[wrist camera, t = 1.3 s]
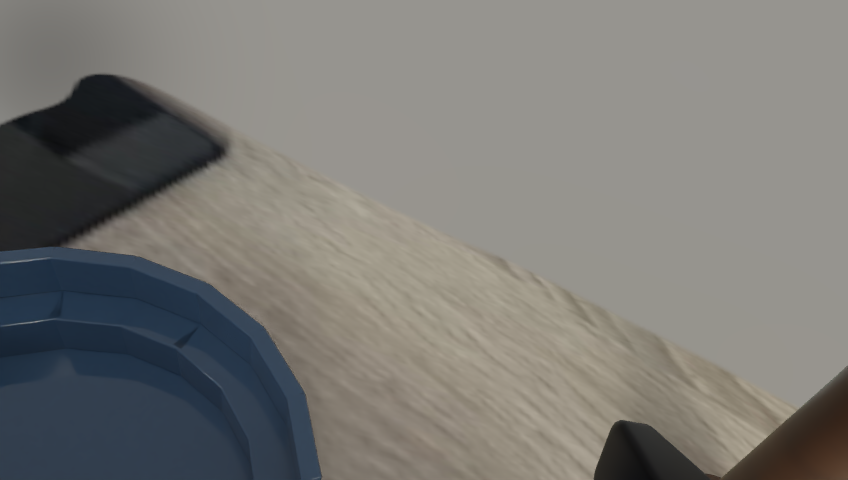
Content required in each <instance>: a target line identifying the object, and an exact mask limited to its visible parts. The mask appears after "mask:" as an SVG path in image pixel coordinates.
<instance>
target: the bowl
mask: <svg viewBox="0 0 848 480" xmlns="http://www.w3.org/2000/svg"><path fill="white" fill-rule="evenodd" d="M0 480H322V475H321V470H320V465H319V460H318V455H317V450H316V445H315V440H314V435H313V430H312V425H311V420H310V415H309V410H308V405H307V400H306V395H305V393H304V391H303V389H302V387H301V386H300V384H299V383H298V381H297V379H296V378H295V376H294V374H293V373H292V371H291V370H290V368H289V366H288V365H287V363H286V361H285V360H284V358H283V357H282V355H281V353H280V352H279V350H278V348H277V347H276V345H275V344H274V342H273V340H272V339H271V337H270V335H269V334H268V332H267V331H266V329H265V328H264V327H263V326H262V325H260V324H259V323H258V322H257V321H255V320H254V319H253V318H251V317H250V316H249V315H248V314H246V313H245V312H244V311H243V310H241V309H240V308H239V307H238V306H236V305H235V304H234V303H233V302H231V301H230V300H229V299H228V298H226V297H225V296H224V295H223V294H221V293H220V292H219V291H218V290H216V289H215V288H214V287H212V286H211V285H210V284H207V283H206V282H204V281H201V280H198V279H196V278H193V277H191V276H188V275H185V274H183V273H180V272H178V271H175V270H172V269H170V268H167V267H165V266H162V265H159V264H157V263H154V262H152V261H149V260H146V259H144V258H141V257H137V256H133V255H124V254H116V253H107V252H98V251H90V250H81V249H72V248H64V247H43V248H32V249H22V250H11V251H1V252H0Z"/></svg>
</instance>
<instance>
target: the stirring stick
mask: <svg viewBox="0 0 848 480" xmlns="http://www.w3.org/2000/svg"><path fill="white" fill-rule="evenodd" d="M706 475H707V476H708V477H709V478H710V479H711V480H848V366H847V367H846V368H845V369H844V370H842V371H841V372H840V373H839V374H838V375H837V376H836V377H834V378H833V379H832V380H831V381H830V382H829V383H828V384H827V385H825V386H824V387H823V388H822V389H821V390H820V391H819V392H818V393H816V394H815V395H814V396H813V397H812V398H811V399H810V400H809V401H807V402H806V403H805V404H804V405H803V406H802V407H801V408H800V409H798V410H797V411H796V412H795V413H794V414H793V415H792V416H791V417H789V418H788V419H787V420H786V421H785V422H784V423H783V424H782V425H780V426H779V427H778V428H777V429H776V430H775V431H774V432H773V433H771V434H770V435H769V436H768V437H767V438H766V439H765V440H764V441H762V442H761V443H760V444H759V445H758V446H757V447H756V448H755V449H754V450H752V451H751V452H750V453H749V454H748V455H747V456H746V457H745V458H743V459H742V460H741V461H740V462H739V463H738V464H737V465H736V466H734V467H733V468H732V469H731V470H730V471H729V472H728V473H727V474H725V475H724V476H723V477H722V478H720V477H717V476H714V475H710V474H706Z"/></svg>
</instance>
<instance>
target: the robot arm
mask: <svg viewBox="0 0 848 480" xmlns="http://www.w3.org/2000/svg"><path fill="white" fill-rule="evenodd" d="M594 480H711V479H710V478H709V477H708V476H707V475H706V474H704V473H703V472H702V471H701V470H700V469H699V468H698V467H697V466H695V465H694V464H693V463H692V462H691V461H690V460H689V459H688V458H686V457H685V456H684V455H683V454H682V453H681V452H680V451H679V450H677V449H676V448H675V447H674V446H673V445H672V444H671V443H669V442H668V441H667V440H666V439H665V438H664V437H663V436H662V435H660V434H659V433H658V432H657V431H656V430H655V429H654V428H652V427H651V426H649V425H647V424H642V423H636V422H630V421H624V420H619V421H617V422H615V423H614V425H613V426H612V428H611V430H610V432H609V435H608V438H607V440H606V443H605V446H604V448H603V451H602V454H601V456H600V459H599V461H598V464H597V467H596V470H595V474H594Z"/></svg>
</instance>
